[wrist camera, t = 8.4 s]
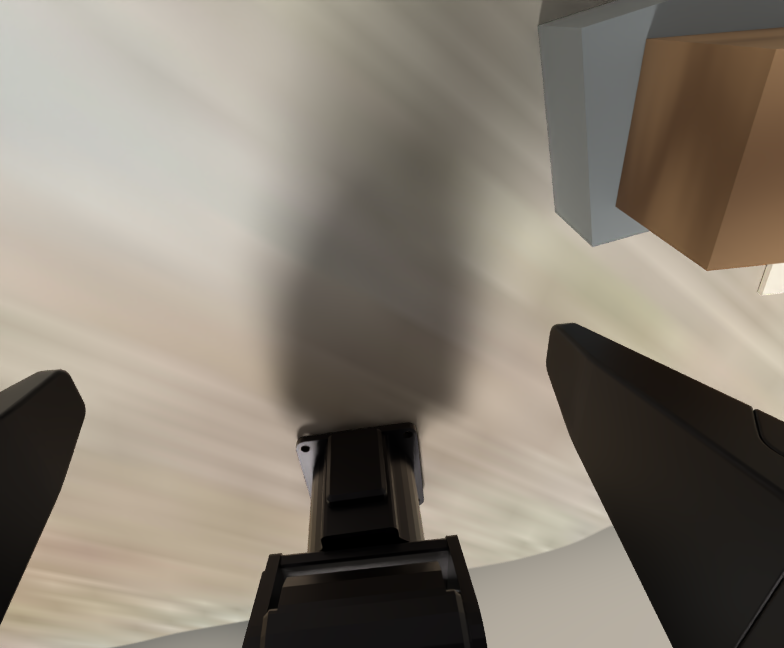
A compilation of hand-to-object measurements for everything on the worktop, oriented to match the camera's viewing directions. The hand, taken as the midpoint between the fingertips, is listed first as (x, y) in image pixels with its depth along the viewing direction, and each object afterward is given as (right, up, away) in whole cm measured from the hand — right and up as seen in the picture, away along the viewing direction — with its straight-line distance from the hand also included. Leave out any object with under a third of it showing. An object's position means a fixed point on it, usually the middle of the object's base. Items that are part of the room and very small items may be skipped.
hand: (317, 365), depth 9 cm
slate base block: (+11, +9, +10) cm, 17 cm away
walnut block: (+11, +7, +6) cm, 15 cm away
